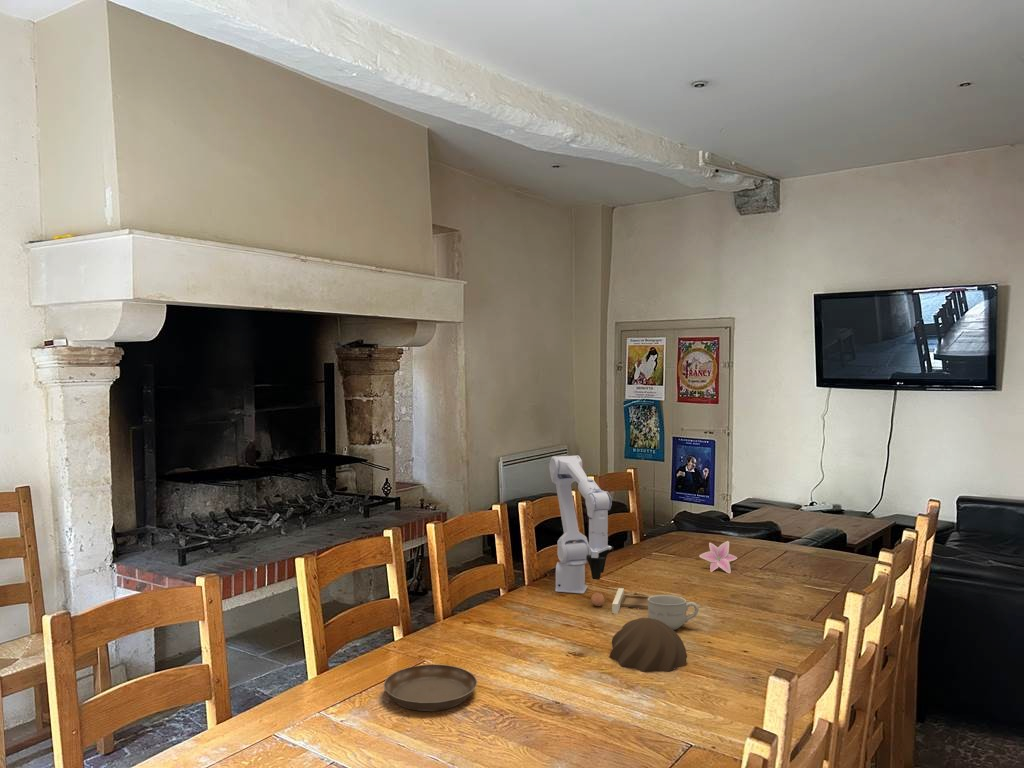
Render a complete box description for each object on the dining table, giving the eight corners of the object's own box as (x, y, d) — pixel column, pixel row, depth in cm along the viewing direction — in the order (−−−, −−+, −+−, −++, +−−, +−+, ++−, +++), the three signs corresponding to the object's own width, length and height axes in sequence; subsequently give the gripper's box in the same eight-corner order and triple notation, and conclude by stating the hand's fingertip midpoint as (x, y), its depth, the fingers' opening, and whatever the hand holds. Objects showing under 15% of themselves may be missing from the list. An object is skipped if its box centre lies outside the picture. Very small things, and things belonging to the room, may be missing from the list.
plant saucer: (431, 669, 181) (431, 655, 181) (495, 693, 168) (495, 678, 168) (364, 698, 165) (364, 683, 165) (430, 727, 152) (430, 711, 152)
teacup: (642, 629, 208) (642, 601, 208) (653, 617, 218) (654, 590, 217) (692, 638, 201) (692, 608, 201) (701, 625, 211) (702, 597, 211)
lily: (694, 570, 271) (697, 551, 266) (709, 552, 279) (713, 533, 274) (725, 586, 264) (729, 566, 260) (739, 567, 272) (743, 548, 267)
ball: (590, 607, 227) (590, 594, 226) (592, 603, 230) (592, 590, 230) (603, 608, 226) (603, 595, 225) (605, 604, 229) (605, 591, 229)
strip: (612, 613, 221) (612, 603, 221) (618, 597, 236) (618, 588, 236) (617, 614, 220) (617, 604, 220) (623, 597, 236) (623, 588, 236)
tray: (620, 607, 227) (620, 603, 227) (623, 598, 235) (624, 594, 235) (651, 610, 224) (651, 606, 224) (653, 600, 233) (653, 596, 233)
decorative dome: (630, 677, 176) (630, 636, 176) (597, 647, 195) (597, 609, 195) (702, 668, 182) (703, 628, 181) (663, 639, 201) (664, 603, 200)
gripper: (608, 537, 219) (607, 583, 220) (614, 527, 233) (614, 570, 234) (584, 536, 221) (584, 581, 222) (592, 525, 235) (591, 568, 236)
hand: (598, 575), depth 228 cm, fingers open, 7 cm apart
